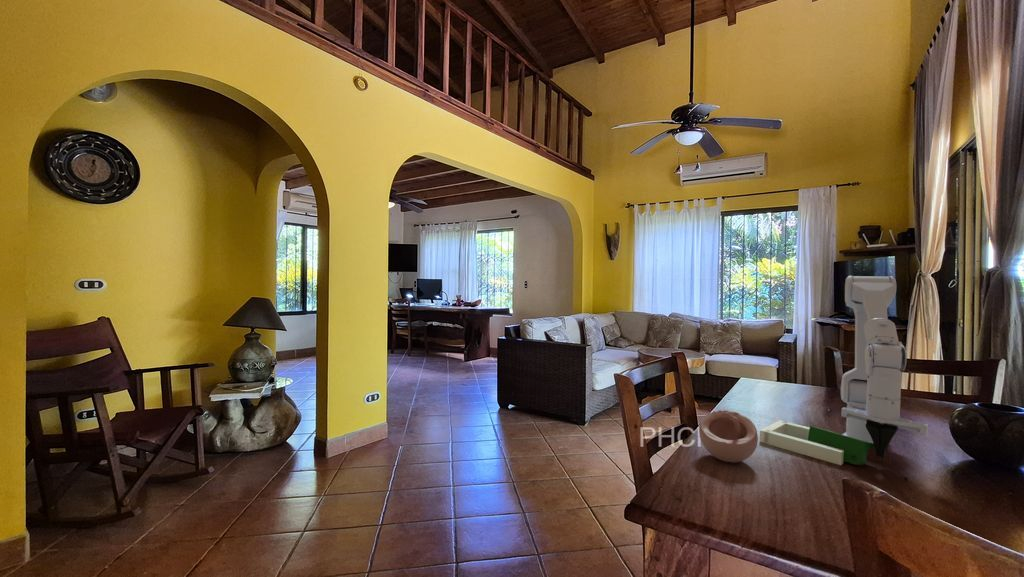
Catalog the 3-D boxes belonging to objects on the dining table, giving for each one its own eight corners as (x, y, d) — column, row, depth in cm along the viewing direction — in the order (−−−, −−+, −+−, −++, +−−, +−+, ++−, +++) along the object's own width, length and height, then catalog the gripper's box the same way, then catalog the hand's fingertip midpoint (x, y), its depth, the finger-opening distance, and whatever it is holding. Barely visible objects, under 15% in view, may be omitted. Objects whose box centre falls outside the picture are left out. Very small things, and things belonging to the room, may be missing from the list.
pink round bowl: (693, 461, 94) (695, 411, 94) (703, 445, 104) (704, 400, 103) (754, 477, 87) (756, 423, 87) (758, 458, 97) (760, 409, 97)
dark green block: (860, 479, 97) (884, 449, 94) (847, 478, 94) (873, 447, 91) (811, 442, 107) (832, 414, 104) (799, 440, 104) (820, 411, 102)
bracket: (779, 430, 116) (779, 420, 116) (856, 450, 103) (857, 439, 103) (759, 441, 107) (759, 430, 107) (841, 465, 94) (841, 452, 94)
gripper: (838, 392, 97) (836, 449, 97) (925, 407, 86) (922, 472, 86) (846, 388, 101) (844, 442, 101) (930, 402, 90) (927, 463, 90)
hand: (880, 456), depth 94 cm, fingers closed
